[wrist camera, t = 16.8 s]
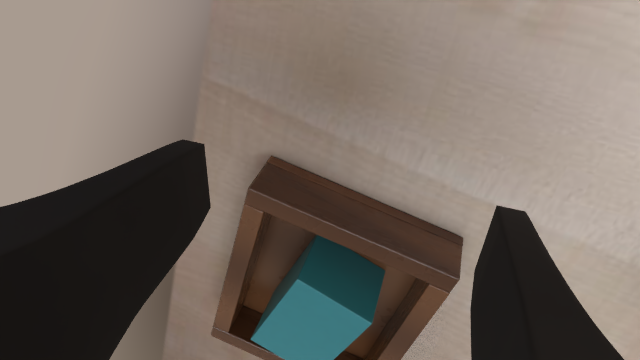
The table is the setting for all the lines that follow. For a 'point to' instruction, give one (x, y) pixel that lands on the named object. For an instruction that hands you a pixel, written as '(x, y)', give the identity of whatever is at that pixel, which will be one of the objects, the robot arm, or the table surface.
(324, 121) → the table surface
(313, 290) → the teal rectangular block
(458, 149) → the table surface
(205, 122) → the table surface
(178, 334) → the table surface
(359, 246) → the holder
